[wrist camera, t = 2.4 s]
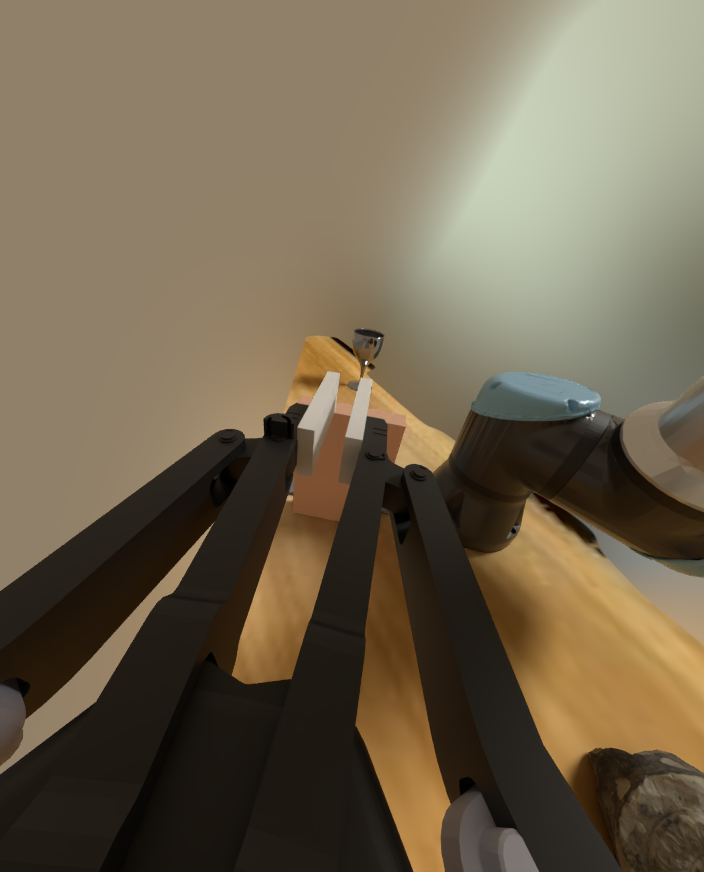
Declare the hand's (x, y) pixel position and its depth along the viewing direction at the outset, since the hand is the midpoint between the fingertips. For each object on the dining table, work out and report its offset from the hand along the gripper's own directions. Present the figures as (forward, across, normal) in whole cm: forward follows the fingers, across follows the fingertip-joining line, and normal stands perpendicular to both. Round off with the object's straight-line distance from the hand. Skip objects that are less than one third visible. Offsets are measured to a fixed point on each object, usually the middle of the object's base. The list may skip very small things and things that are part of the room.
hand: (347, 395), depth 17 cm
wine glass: (+56, -1, -25) cm, 62 cm away
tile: (+10, 0, -25) cm, 27 cm away
